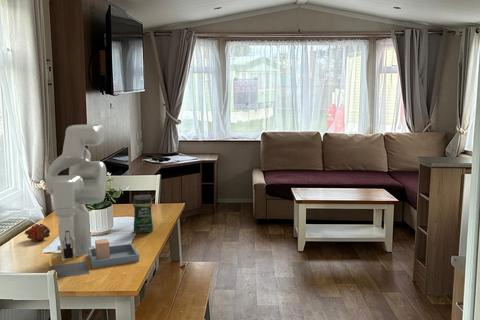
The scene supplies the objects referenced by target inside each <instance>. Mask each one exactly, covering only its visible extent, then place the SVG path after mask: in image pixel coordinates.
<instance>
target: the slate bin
mask: <svg viewBox="0 0 480 320" xmlns="http://www.w3.org/2000/svg"><path fill="white" fill-rule="evenodd" d="M109 249H110V258H108V259H101V260H97V259H96V247H95V248H93V249H88V254H87V256H88V258H89V260H90V264H91V267H92V269H96V268H101V267H109V266H114V265H115V266H116V265H122V264H129V263H136V262H140V254H139V253H138V250H137V249H136V247H135V245H134V244H133V243H131V242H130V243H125V244H124V243H123V244H116V245H109Z"/></svg>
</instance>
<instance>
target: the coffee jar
mask: <svg viewBox="0 0 480 320" xmlns="http://www.w3.org/2000/svg"><path fill="white" fill-rule="evenodd" d="M152 205H153V199H152V195H151V194H138V195H136V194H135V195H134V196H133V198H132V206H133V208H134V210H133V211H134V218H133V219H134V220H133V231H134V233H136V234H145V233H151V232H153V230H154V224H153V216H152Z"/></svg>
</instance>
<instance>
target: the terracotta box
mask: <svg viewBox="0 0 480 320" xmlns="http://www.w3.org/2000/svg"><path fill="white" fill-rule="evenodd" d="M94 245H95V246H94V247H95V248H96V259H97V260H101V259H108V258H110V249H109V246H110V241H109V239H108V238H103V239H102V238H101V239H95V241H94Z"/></svg>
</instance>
